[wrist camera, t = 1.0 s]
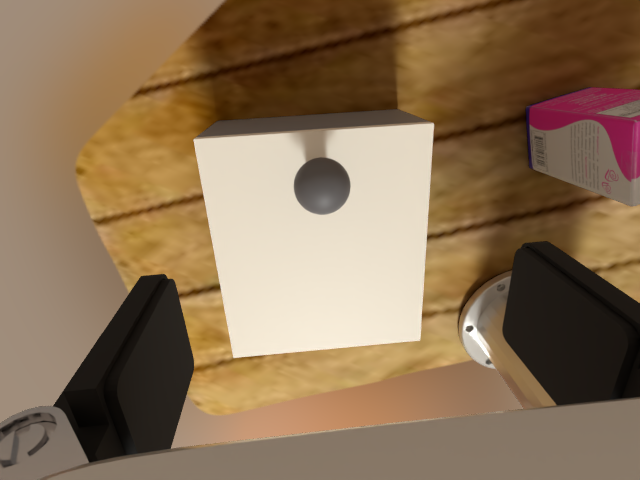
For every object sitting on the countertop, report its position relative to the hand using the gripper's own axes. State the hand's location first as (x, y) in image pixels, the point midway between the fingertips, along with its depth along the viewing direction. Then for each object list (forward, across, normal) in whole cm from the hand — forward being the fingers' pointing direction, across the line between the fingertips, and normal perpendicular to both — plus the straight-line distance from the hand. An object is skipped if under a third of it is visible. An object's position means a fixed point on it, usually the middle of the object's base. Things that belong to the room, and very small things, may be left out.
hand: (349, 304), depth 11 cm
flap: (+17, 0, +6) cm, 18 cm away
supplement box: (+25, -22, 0) cm, 33 cm away
